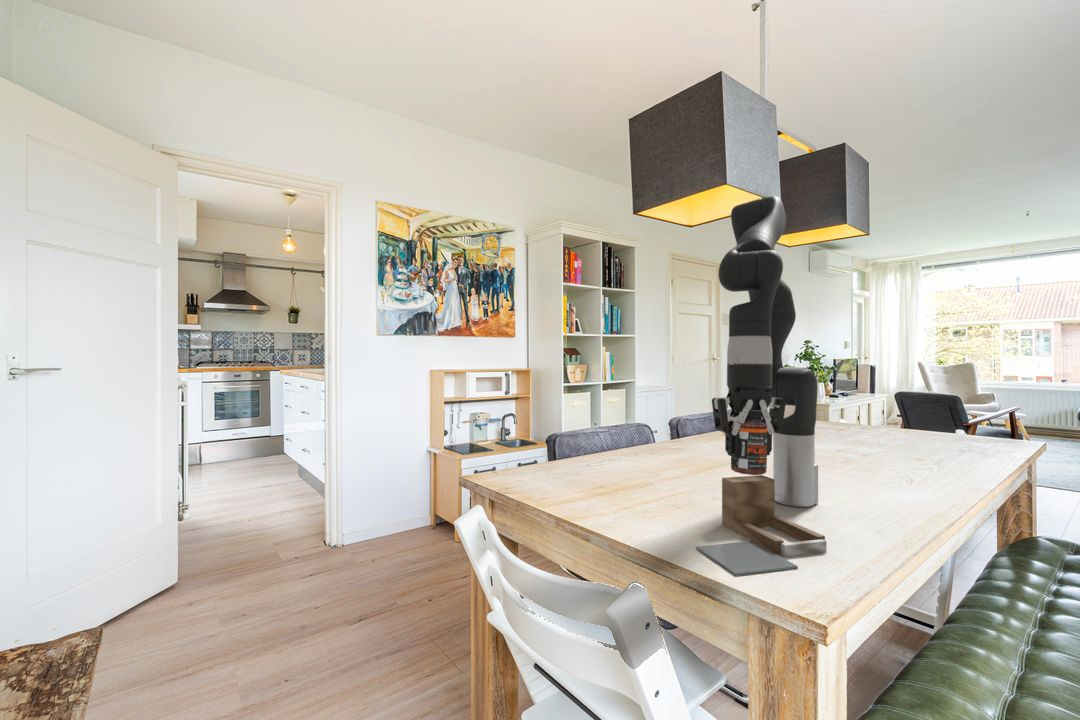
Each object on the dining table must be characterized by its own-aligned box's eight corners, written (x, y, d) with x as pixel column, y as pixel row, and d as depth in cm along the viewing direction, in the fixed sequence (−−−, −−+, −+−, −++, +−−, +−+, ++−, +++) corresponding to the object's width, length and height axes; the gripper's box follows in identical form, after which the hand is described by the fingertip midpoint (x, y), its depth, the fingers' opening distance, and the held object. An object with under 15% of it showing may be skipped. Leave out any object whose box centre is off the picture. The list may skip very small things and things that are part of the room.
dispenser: (763, 520, 109) (763, 475, 109) (830, 551, 91) (830, 497, 91) (720, 524, 106) (720, 478, 106) (781, 557, 88) (780, 501, 88)
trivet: (751, 542, 95) (751, 540, 95) (797, 568, 84) (797, 566, 84) (696, 548, 92) (696, 546, 92) (736, 575, 81) (736, 573, 81)
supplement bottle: (749, 477, 84) (750, 411, 85) (723, 470, 90) (724, 408, 90) (774, 474, 87) (775, 410, 87) (747, 467, 92) (748, 407, 92)
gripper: (769, 362, 94) (768, 450, 94) (702, 361, 91) (701, 452, 90) (798, 362, 87) (797, 458, 87) (727, 361, 83) (726, 460, 83)
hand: (748, 455), depth 88 cm, fingers closed on supplement bottle, 6 cm apart
